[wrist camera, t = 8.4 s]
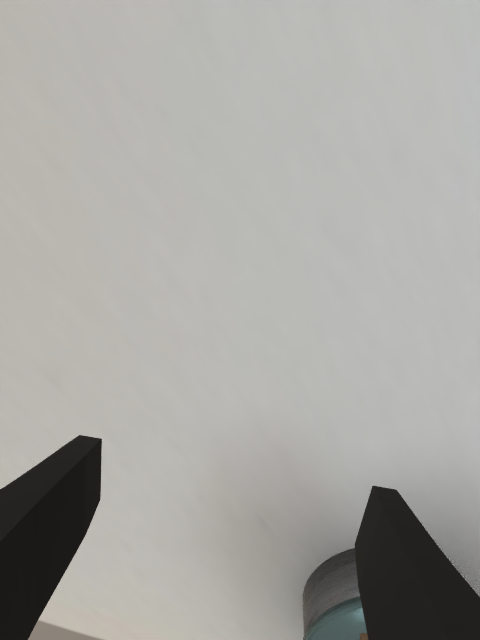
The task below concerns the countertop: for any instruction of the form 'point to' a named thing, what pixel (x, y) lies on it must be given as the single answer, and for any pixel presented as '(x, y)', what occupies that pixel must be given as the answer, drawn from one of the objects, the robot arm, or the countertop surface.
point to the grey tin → (333, 601)
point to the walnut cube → (363, 636)
